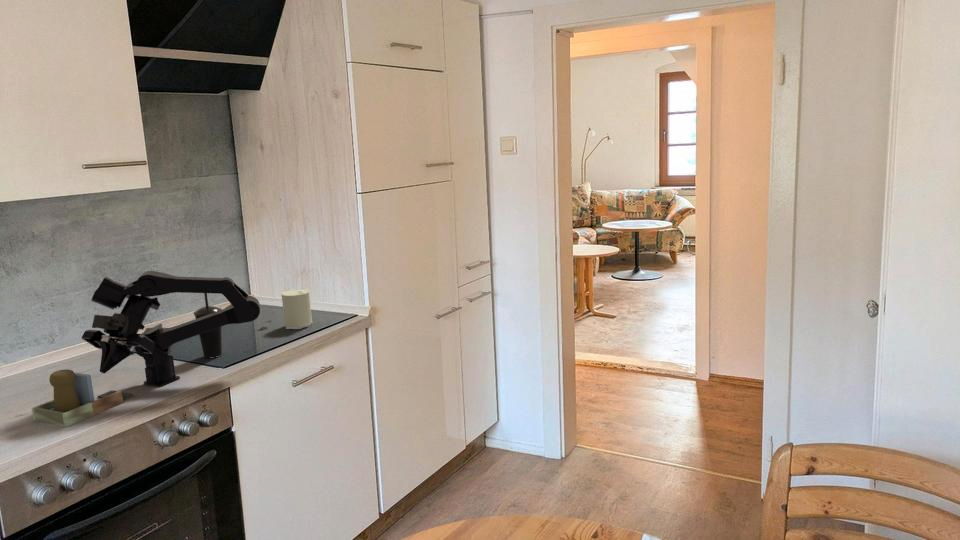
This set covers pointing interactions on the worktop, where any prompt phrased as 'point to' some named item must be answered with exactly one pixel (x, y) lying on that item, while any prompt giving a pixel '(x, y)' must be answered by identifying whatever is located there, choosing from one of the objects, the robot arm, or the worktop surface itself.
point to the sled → (83, 388)
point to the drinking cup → (210, 333)
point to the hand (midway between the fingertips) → (102, 372)
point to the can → (296, 308)
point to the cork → (64, 390)
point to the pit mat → (124, 395)
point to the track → (75, 410)
